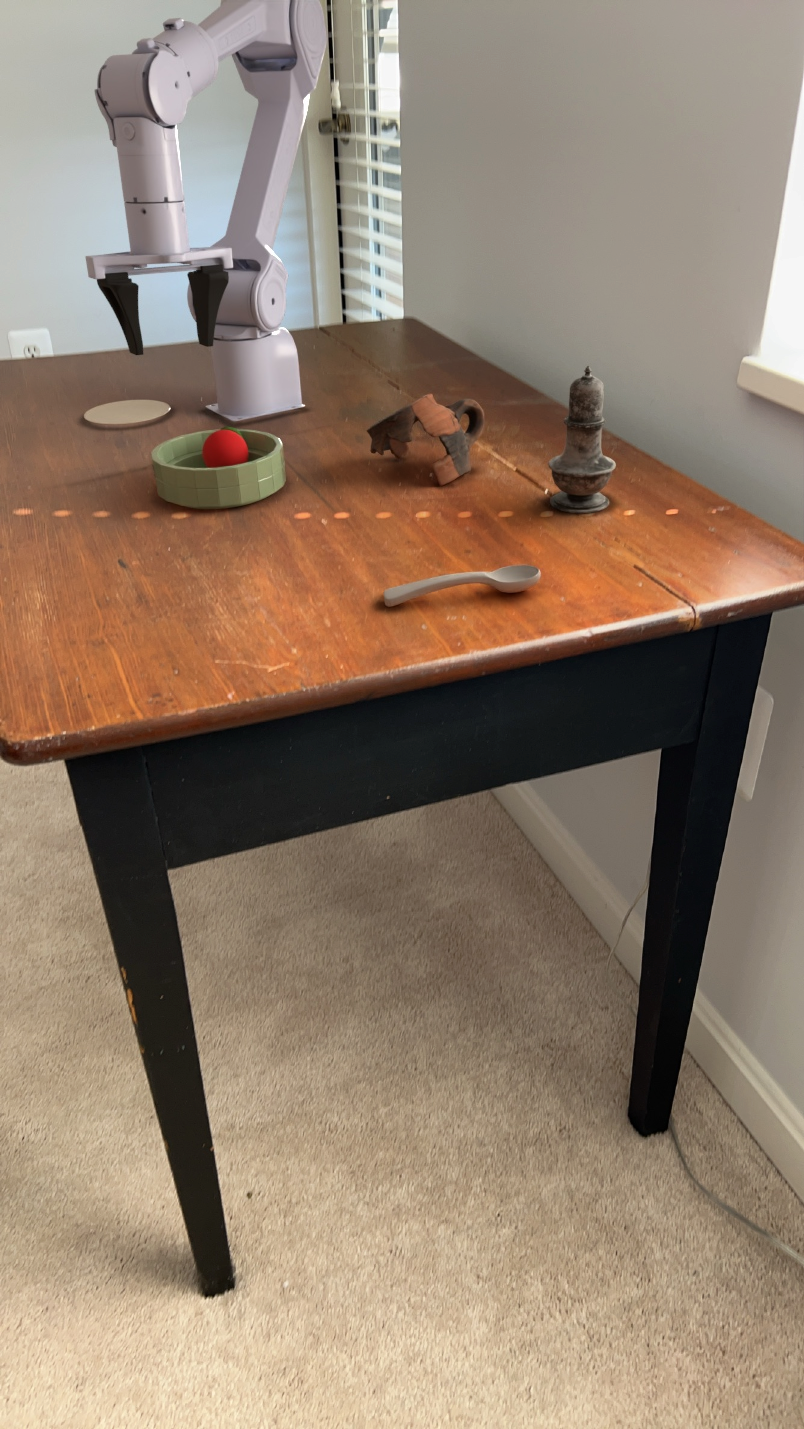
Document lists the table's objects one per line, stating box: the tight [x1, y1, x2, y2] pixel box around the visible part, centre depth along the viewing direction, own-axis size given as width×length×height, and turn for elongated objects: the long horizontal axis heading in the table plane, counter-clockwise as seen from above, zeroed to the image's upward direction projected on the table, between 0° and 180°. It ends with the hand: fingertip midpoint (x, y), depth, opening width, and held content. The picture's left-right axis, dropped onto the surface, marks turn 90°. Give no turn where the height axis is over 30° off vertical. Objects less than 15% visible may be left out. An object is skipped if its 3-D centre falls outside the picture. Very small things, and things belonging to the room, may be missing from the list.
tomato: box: [202, 426, 248, 468], centre depth 98 cm, size 4×4×5 cm
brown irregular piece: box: [366, 393, 486, 487], centre depth 99 cm, size 12×10×8 cm
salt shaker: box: [547, 365, 617, 514], centre depth 88 cm, size 6×6×12 cm
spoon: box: [383, 564, 542, 608], centre depth 75 cm, size 3×12×2 cm, turn 100°
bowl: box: [150, 428, 287, 510], centre depth 96 cm, size 12×12×4 cm
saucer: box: [83, 399, 171, 425], centre depth 119 cm, size 10×10×1 cm
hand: (172, 349), depth 104 cm, fingers open, 7 cm apart
